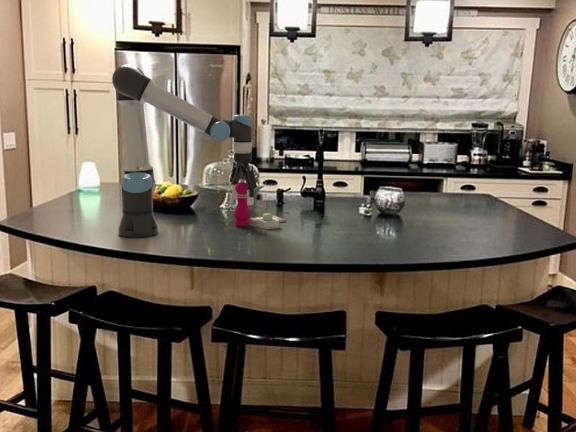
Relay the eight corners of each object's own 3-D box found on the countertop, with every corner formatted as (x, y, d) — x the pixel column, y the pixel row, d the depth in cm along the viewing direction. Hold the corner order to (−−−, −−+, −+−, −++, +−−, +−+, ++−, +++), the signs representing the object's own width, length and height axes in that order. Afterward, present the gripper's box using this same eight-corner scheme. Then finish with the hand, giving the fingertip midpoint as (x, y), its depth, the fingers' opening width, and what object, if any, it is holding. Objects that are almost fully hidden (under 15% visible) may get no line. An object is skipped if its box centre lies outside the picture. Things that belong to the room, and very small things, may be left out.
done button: (265, 223, 242) (266, 215, 241) (261, 222, 245) (261, 213, 244) (274, 223, 244) (274, 214, 243) (269, 221, 247) (269, 212, 246)
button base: (264, 229, 240) (264, 222, 239) (256, 225, 246) (256, 218, 245) (278, 227, 244) (278, 220, 243) (270, 224, 250) (270, 217, 249)
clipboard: (260, 224, 248) (260, 222, 248) (249, 220, 256) (249, 217, 256) (285, 221, 255) (285, 219, 255) (274, 217, 263) (274, 215, 263)
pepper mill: (251, 223, 250) (252, 177, 246) (248, 227, 243) (249, 180, 239) (235, 222, 251) (235, 177, 247) (232, 226, 244) (232, 179, 240)
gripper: (265, 154, 232) (265, 206, 237) (237, 149, 253) (237, 196, 257) (249, 155, 228) (249, 208, 233) (221, 149, 249) (222, 198, 253)
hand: (242, 202), depth 245 cm, fingers open, 13 cm apart
